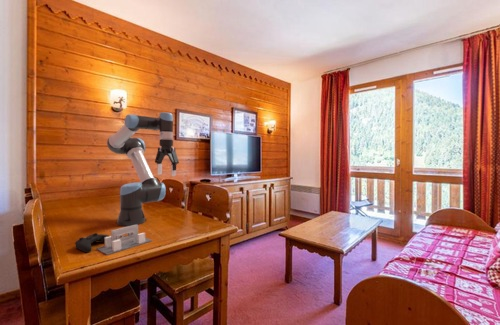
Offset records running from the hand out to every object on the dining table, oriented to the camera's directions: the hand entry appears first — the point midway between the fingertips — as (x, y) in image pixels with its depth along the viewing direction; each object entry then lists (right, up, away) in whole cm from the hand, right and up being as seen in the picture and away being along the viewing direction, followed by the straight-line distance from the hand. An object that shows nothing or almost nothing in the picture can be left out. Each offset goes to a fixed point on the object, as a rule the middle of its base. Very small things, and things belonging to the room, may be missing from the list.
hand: (166, 175), depth 144 cm
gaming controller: (-21, -31, -35) cm, 51 cm away
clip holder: (-7, -30, -33) cm, 45 cm away
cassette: (-7, -30, -33) cm, 45 cm away
